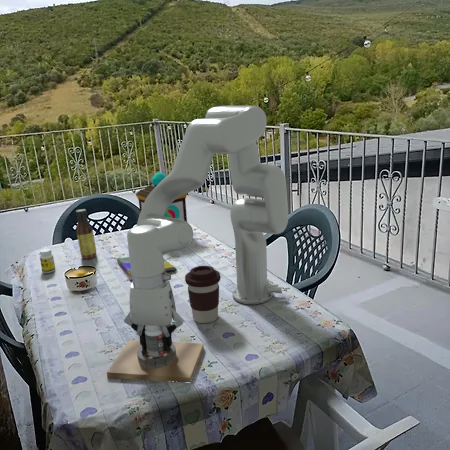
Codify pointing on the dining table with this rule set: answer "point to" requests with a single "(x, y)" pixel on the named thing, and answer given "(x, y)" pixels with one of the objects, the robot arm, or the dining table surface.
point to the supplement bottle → (47, 261)
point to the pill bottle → (154, 340)
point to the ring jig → (157, 363)
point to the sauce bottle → (85, 235)
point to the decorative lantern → (175, 208)
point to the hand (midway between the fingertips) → (156, 347)
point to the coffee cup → (203, 293)
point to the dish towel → (127, 267)
